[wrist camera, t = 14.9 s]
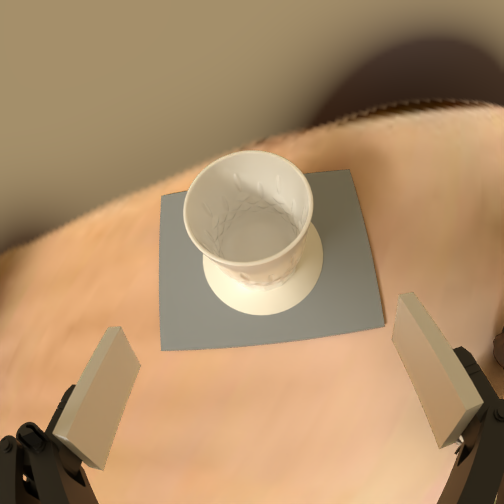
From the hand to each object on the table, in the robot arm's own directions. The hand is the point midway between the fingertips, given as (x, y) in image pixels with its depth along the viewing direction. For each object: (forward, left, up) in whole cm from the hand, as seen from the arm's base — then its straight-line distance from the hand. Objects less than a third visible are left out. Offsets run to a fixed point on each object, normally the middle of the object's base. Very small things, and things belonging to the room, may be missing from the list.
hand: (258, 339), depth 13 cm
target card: (0, +8, -12) cm, 15 cm away
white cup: (0, +8, -12) cm, 14 cm away
